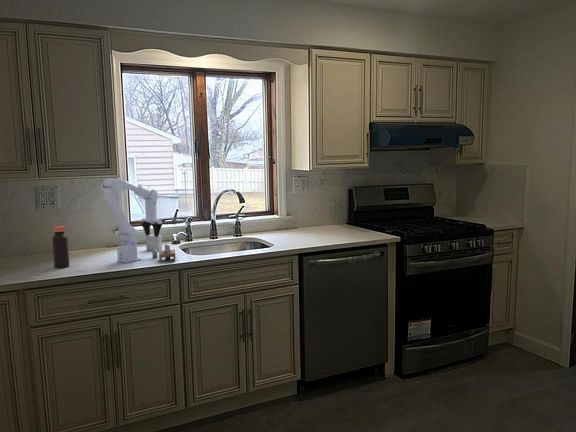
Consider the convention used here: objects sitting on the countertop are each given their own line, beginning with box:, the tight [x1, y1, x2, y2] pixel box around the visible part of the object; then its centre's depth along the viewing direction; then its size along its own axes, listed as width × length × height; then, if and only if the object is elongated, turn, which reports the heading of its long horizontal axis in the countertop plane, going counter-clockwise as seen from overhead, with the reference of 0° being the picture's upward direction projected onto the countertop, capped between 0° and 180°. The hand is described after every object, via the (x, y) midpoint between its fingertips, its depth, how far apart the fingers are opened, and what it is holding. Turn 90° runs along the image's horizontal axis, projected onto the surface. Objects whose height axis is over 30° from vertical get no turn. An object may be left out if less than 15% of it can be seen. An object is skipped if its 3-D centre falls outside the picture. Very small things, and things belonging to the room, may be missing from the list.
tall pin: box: [164, 244, 171, 261], centre depth 244 cm, size 3×3×8 cm
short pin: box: [151, 250, 159, 260], centre depth 250 cm, size 3×3×4 cm
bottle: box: [51, 225, 70, 269], centre depth 231 cm, size 7×7×20 cm
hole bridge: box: [158, 249, 176, 263], centre depth 244 cm, size 9×8×4 cm
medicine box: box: [145, 234, 163, 252], centre depth 272 cm, size 8×4×9 cm, turn 74°
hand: (152, 235), depth 258 cm, fingers open, 7 cm apart
